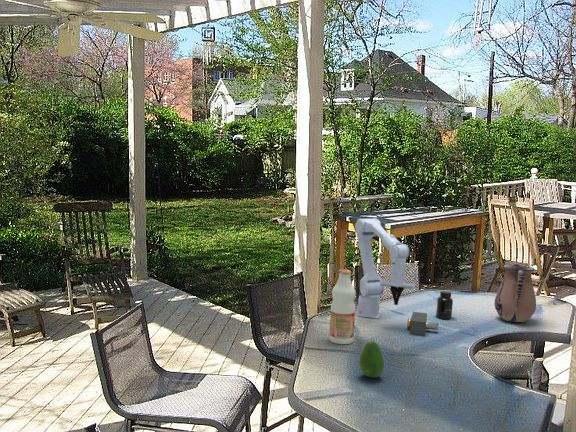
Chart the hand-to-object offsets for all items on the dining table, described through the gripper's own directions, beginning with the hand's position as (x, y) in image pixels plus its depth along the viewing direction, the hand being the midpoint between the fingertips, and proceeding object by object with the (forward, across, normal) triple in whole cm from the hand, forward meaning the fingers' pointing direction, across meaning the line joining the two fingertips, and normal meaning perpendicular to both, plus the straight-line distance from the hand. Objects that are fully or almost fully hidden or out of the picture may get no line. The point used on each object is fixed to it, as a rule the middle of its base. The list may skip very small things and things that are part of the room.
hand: (396, 304), depth 253 cm
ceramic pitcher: (+10, +51, +30) cm, 60 cm away
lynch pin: (+9, +12, -1) cm, 15 cm away
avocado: (+10, -2, -60) cm, 61 cm away
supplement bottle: (+10, +20, +23) cm, 32 cm away
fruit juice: (+10, -18, -27) cm, 34 cm away
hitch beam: (+10, +10, -1) cm, 14 cm away
